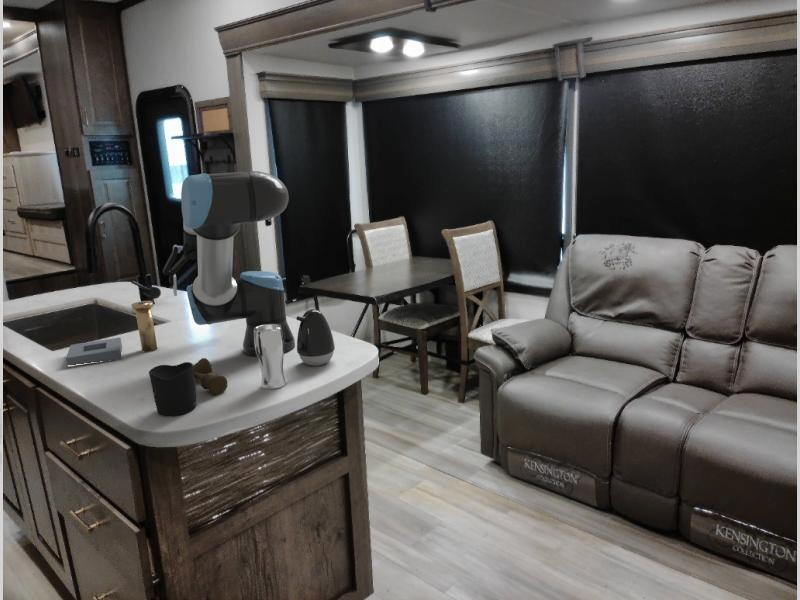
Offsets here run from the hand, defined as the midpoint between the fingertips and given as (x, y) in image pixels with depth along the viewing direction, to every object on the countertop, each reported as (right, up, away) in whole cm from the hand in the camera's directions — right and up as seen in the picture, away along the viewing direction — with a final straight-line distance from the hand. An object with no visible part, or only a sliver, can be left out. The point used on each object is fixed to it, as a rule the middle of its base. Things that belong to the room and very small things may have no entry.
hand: (197, 292), depth 190 cm
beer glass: (+34, -24, -43) cm, 59 cm away
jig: (-26, -19, -12) cm, 35 cm away
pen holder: (+14, -28, -54) cm, 62 cm away
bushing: (-12, -18, -8) cm, 23 cm away
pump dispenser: (+43, -20, -28) cm, 55 cm away
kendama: (+14, -25, -40) cm, 49 cm away
